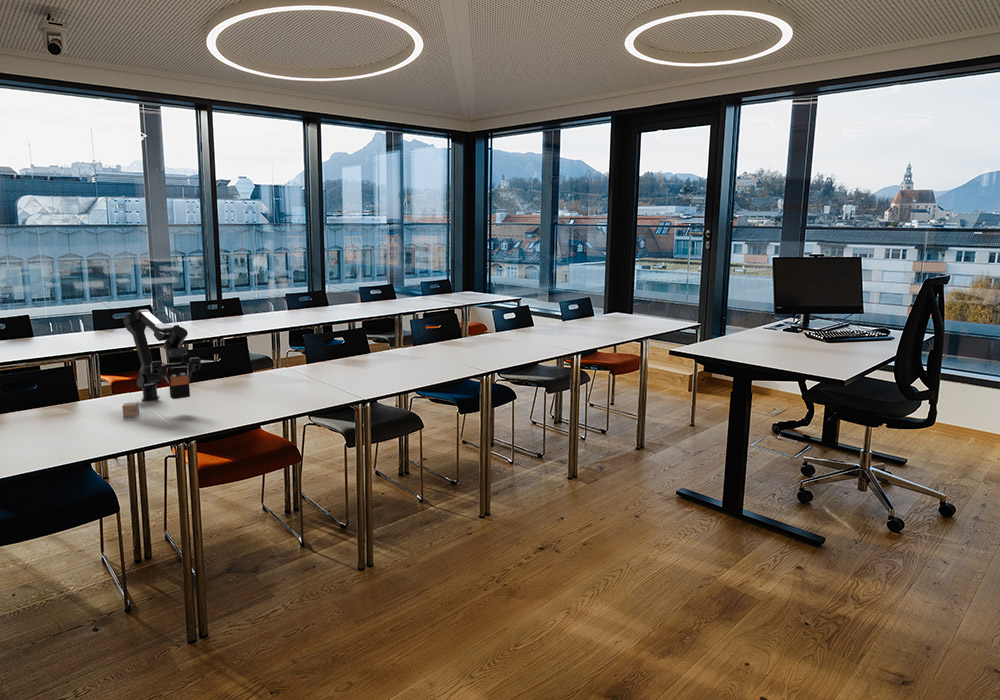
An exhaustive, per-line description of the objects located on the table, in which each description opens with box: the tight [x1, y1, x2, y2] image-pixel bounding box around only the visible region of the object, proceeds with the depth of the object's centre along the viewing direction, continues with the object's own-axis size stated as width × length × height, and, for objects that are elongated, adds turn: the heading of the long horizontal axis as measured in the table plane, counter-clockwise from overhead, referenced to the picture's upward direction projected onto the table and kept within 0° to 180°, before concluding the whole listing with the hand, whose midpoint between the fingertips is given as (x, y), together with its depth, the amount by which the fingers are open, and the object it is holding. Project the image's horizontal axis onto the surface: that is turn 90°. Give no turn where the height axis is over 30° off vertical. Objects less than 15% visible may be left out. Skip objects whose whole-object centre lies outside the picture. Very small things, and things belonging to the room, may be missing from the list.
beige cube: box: [122, 401, 140, 419], centre depth 278 cm, size 5×5×5 cm
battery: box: [168, 372, 191, 400], centre depth 282 cm, size 4×7×10 cm, turn 130°
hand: (179, 382), depth 280 cm, fingers closed on battery, 7 cm apart
